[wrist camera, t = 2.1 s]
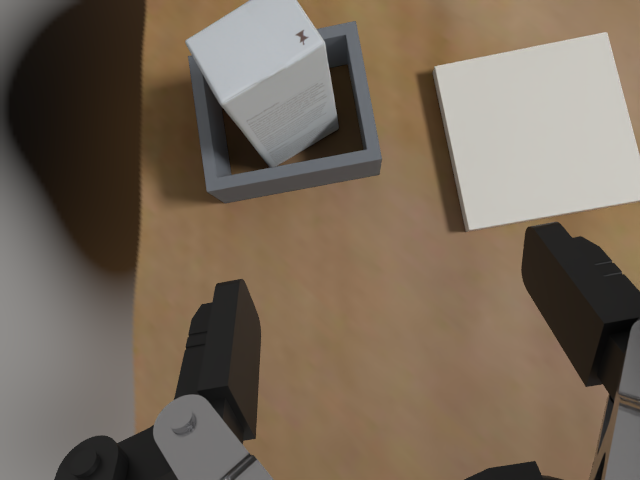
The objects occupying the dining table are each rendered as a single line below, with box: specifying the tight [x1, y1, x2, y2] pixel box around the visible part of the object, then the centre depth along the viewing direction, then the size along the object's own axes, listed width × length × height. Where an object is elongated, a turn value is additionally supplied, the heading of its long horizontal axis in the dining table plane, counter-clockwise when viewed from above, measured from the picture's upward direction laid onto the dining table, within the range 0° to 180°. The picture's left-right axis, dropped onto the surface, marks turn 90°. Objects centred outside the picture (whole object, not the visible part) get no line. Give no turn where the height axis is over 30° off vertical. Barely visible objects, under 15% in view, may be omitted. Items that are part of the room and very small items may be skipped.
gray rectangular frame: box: [188, 21, 382, 203], centre depth 32 cm, size 10×12×4 cm
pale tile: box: [433, 32, 640, 232], centre depth 32 cm, size 12×12×1 cm
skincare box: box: [185, 0, 339, 168], centre depth 28 cm, size 6×4×12 cm
